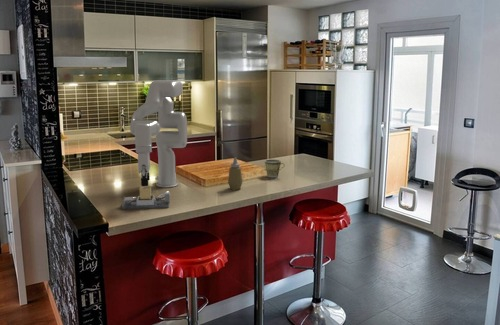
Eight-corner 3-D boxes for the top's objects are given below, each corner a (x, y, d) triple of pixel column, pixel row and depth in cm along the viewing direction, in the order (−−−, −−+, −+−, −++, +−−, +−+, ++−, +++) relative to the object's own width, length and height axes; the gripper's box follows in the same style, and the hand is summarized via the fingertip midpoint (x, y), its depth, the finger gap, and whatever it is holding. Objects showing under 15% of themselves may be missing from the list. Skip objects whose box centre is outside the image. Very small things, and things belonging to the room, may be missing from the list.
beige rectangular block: (140, 204, 211) (139, 188, 209) (141, 201, 216) (140, 185, 214) (150, 204, 212) (150, 188, 210) (151, 201, 217) (151, 185, 215)
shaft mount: (121, 209, 208) (121, 194, 206) (124, 203, 217) (123, 189, 215) (170, 207, 211) (169, 193, 210) (170, 202, 220) (170, 188, 219)
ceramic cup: (262, 177, 274) (262, 161, 272) (268, 173, 283) (269, 158, 281) (280, 179, 268) (281, 163, 266) (287, 176, 277) (287, 160, 275)
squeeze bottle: (242, 186, 251) (242, 156, 247) (242, 190, 243) (242, 158, 239) (228, 186, 250) (228, 156, 247) (228, 190, 242) (227, 158, 239)
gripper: (137, 145, 216) (139, 178, 220) (133, 152, 199) (135, 188, 203) (152, 145, 217) (154, 178, 221) (150, 152, 201) (152, 188, 205)
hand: (145, 183), depth 212 cm, fingers open, 9 cm apart
